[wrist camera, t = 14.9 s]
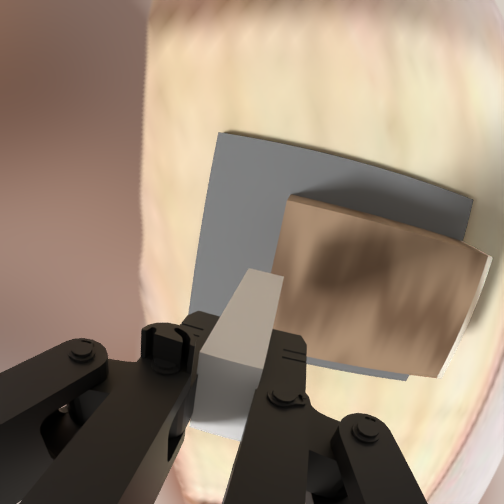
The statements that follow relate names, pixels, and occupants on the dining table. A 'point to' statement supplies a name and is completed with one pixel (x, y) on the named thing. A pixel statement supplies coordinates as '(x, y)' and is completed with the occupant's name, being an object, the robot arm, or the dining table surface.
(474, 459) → the dining table surface
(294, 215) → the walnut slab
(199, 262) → the felt pad
